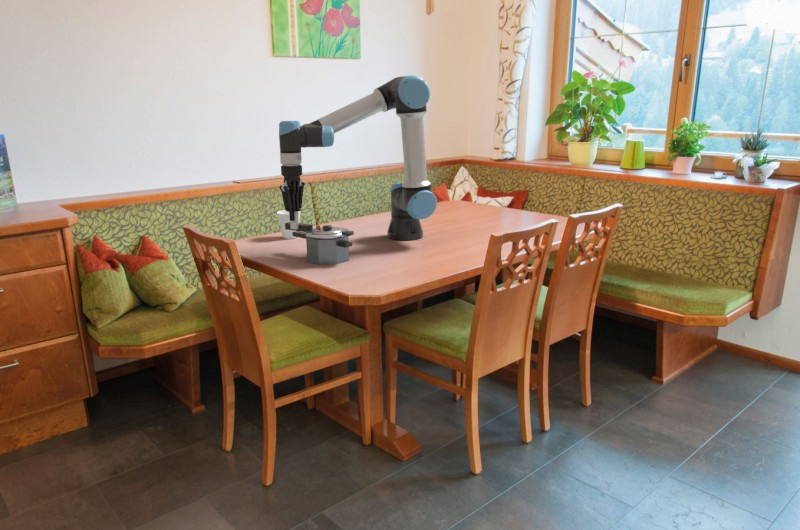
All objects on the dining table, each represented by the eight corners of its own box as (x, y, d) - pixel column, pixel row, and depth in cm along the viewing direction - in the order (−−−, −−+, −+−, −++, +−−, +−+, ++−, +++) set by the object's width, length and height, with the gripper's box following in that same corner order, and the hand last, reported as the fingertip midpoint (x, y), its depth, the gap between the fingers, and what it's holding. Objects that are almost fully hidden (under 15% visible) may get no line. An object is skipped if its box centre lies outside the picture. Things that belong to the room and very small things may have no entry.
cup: (297, 240, 251) (295, 214, 248) (274, 239, 253) (272, 213, 250) (305, 235, 260) (304, 210, 257) (283, 234, 262) (282, 209, 259)
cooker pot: (364, 259, 221) (363, 235, 218) (334, 268, 210) (333, 243, 207) (310, 247, 239) (309, 225, 237) (280, 255, 228) (279, 231, 226)
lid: (363, 233, 221) (363, 225, 220) (338, 241, 208) (338, 233, 207) (300, 225, 235) (300, 217, 234) (273, 232, 222) (273, 224, 221)
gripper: (289, 166, 211) (293, 233, 217) (309, 163, 222) (312, 226, 228) (272, 166, 214) (275, 231, 220) (292, 162, 225) (295, 224, 231)
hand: (294, 228), depth 224 cm, fingers closed
